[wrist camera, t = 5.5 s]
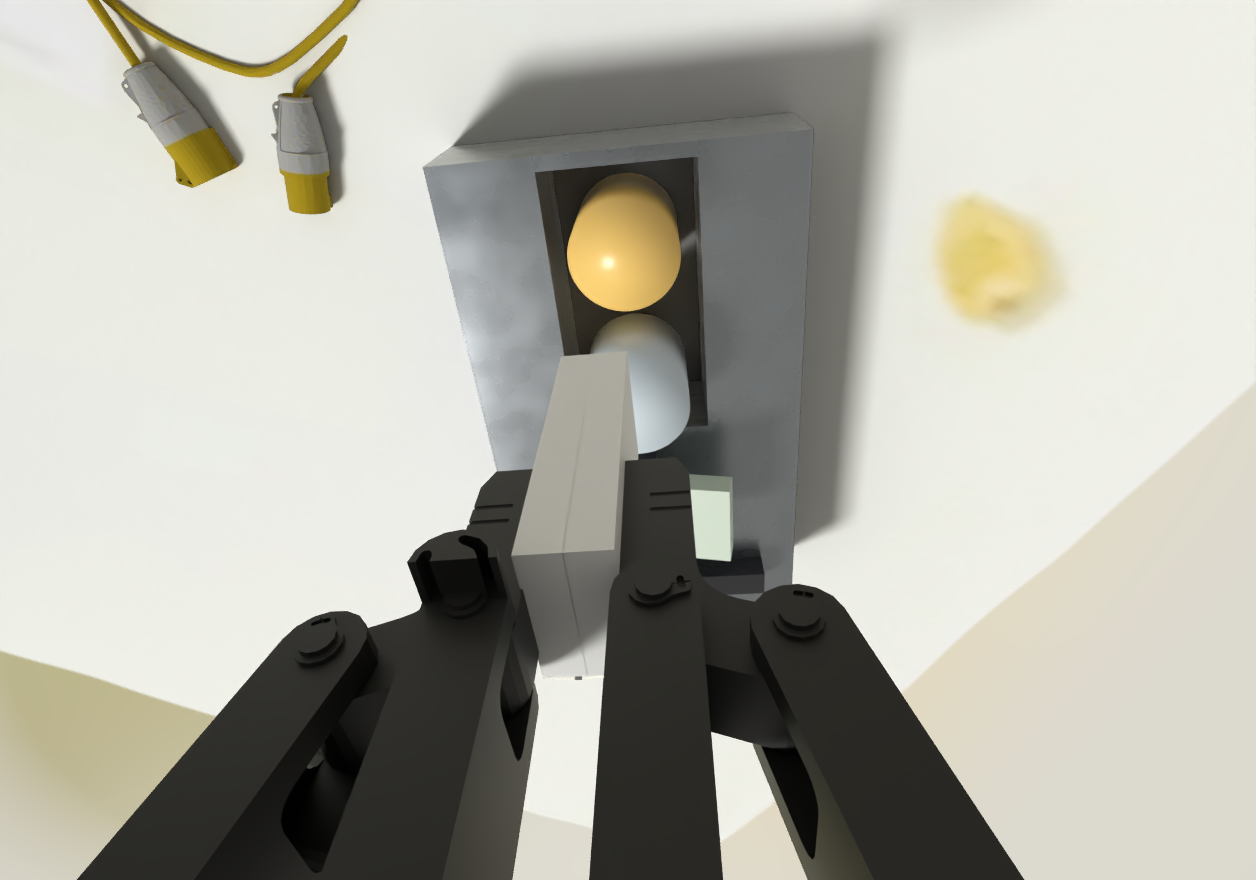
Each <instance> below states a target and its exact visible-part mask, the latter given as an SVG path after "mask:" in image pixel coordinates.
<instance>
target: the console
mask: <svg viewBox="0 0 1256 880" xmlns="http://www.w3.org/2000/svg"><path fill="white" fill-rule="evenodd" d="M813 136H814V129H813V128H812V127H811V126H809V125H808V124H807V123H805V122H804V121H803V120H801V119H800V118H799V117H798V116H796V115H795V114H794V113H792V112H790V113H780V114H770V115H760V116H750V117H740V118H730V119H720V120H710V121H700V122H690V123H680V124H670V125H660V126H650V127H640V128H630V129H620V130H610V131H600V132H590V133H580V134H570V135H560V136H550V137H540V138H530V139H520V140H510V141H500V142H490V143H480V144H470V145H460V146H452V147H450V148H449V149H447V150H446V151H445V152H443V153H442V154H440V155H439V156H438V157H436V158H435V159H434V160H432V161H431V162H429V163H428V164H427V165H425V166H424V167H423V170H424V174H425V178H426V182H427V187H428V191H429V195H430V199H431V203H432V207H433V211H434V215H435V219H436V223H437V227H438V232H439V236H440V240H441V244H442V248H443V252H444V256H445V260H446V264H447V268H448V272H449V277H450V281H451V285H452V289H453V293H454V297H455V301H456V305H457V309H458V313H459V318H460V322H461V326H462V330H463V334H464V338H465V342H466V346H467V350H468V354H469V358H470V363H471V367H472V371H473V375H474V379H475V383H476V387H477V391H478V395H479V399H480V403H481V408H482V412H483V416H484V420H485V424H486V428H487V432H488V436H489V440H490V444H491V448H492V453H493V457H494V461H495V465H496V469H497V471H510V470H525V469H533V466H534V462H535V458H536V454H537V450H538V446H539V442H540V438H541V434H542V430H543V426H544V422H545V418H546V414H547V410H548V406H549V402H550V398H551V394H552V390H553V386H554V382H555V378H556V374H557V370H558V366H559V362H560V358H561V357H562V356H574V355H580V354H579V348H578V341H577V334H576V327H575V320H574V314H573V307H572V300H571V293H570V286H569V280H568V273H567V266H566V259H565V252H564V246H563V239H562V232H561V225H560V219H559V212H558V205H557V198H556V191H555V185H554V178H553V170H564V169H574V168H585V167H595V166H605V165H616V164H626V163H637V162H647V161H658V160H668V159H678V158H689V157H693V175H694V200H695V224H696V248H697V272H698V297H699V321H700V345H701V370H702V381H690V382H688V388H689V398H690V414H689V419H688V422H687V424H686V426H685V428H684V430H683V431H682V433H681V434H680V435H679V436H678V437H677V438H676V439H675V440H674V441H673V442H672V443H670V444H668V445H667V446H665V447H663V448H661V449H659V450H656V451H653V452H649V453H642V454H638V460H642V459H657V458H671V457H677V458H678V459H679V460H680V462H681V463H682V464H683V465H684V467H685V468H686V469H687V470H688V471H689V474H693V475H709V476H725V477H732V487H733V551H732V557H731V561H721V560H711V559H700V558H696V560H697V566H698V570H699V572H700V574H701V576H702V577H703V579H704V580H705V581H706V582H707V583H708V584H709V585H710V586H712V587H713V588H714V589H716V590H718V591H720V592H722V593H723V594H726V595H729V596H732V597H736V598H740V599H744V600H749V601H754V602H755V601H756V600H757V599H758V598H759V597H760V596H761V595H762V594H763V593H764V592H766V591H768V590H770V589H773V588H775V587H778V586H780V585H792V572H793V552H794V531H795V510H796V489H797V469H798V448H799V427H800V406H801V385H802V365H803V344H804V323H805V302H806V281H807V261H808V240H809V219H810V198H811V178H812V157H813Z"/></svg>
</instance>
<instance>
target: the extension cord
mask: <svg viewBox="0 0 1256 880" xmlns="http://www.w3.org/2000/svg"><path fill="white" fill-rule="evenodd" d="M87 1H88V3H89V4H90V6H91V7H92V9H93V10H94V12H95V13H96V14H97V16H98V17H99V19H100V20H101V22H102V23H103V25H104V26H105V28H106V29H107V31H108V32H109V34H110V35H111V37H112V38H113V39H114V41H115V42H116V44H117V45H118V47H119V48H120V50H121V51H122V53H123V54H124V56H125V57H126V59H127V60H128V62H129V63H130V64H131V66H132V68H130V69H128V70H126V71H125V72H124V74H123V76H124V77H125V78H126V79H125V80H124V81H123V82H122V84H121V85H122V88H123V89H124V91H125V92H126V93H127V95H128V96H129V97H130V98H131V99H132V100H133V101H134V102H135V103H136V104H137V105H138V106H139V108H140V110H141V112H142V114H139V115H138V116H137V117H138V118H140V119H142V120H144V121H146V122H147V123H148V125H149V126H150V128H151V130H152V131H153V132H154V134H155V135H156V136H157V138H158V139H159V141H160V142H161V143H162V145H163V146H164V148H165V149H166V150H167V152H168V153H169V154H170V156H171V157H172V158H173V160H174V161H175V169H176V181H177V182H178V183H179V184H182V185H185V186H188V187H191V188H193V187H196V186H198V185H200V184H203V183H205V182H207V181H209V180H211V179H213V178H215V177H218V176H220V175H222V174H224V173H226V172H228V171H230V170H233V169H235V168H237V167H238V165H237V164H236V162H235V160H234V159H233V157H232V156H231V154H230V153H229V151H228V150H227V148H226V147H225V145H224V144H223V142H222V141H221V139H220V138H219V136H218V135H217V133H216V132H215V130H214V129H213V127H211V128H209V127H208V126H207V124H206V123H205V121H204V120H203V118H202V117H201V115H200V114H199V112H198V111H197V109H195V108H194V107H193V106H192V104H191V103H190V102H189V100H188V99H187V98H186V97H185V96H184V95H183V93H182V92H180V91H179V89H178V88H177V87H176V86H175V85H174V84H173V83H172V81H171V80H170V79H169V78H168V77H167V76H166V75H165V74H164V73H163V72H162V71H161V70H160V69H159V68H158V67H157V66H156V63H155V62H152V61H149V62H145V63H142V64H141V62H140V61H139V59H138V58H137V56H136V55H135V53H134V52H133V50H132V49H131V47H130V46H129V44H128V43H127V41H126V40H125V38H124V37H123V35H122V34H121V32H120V31H119V29H118V28H117V26H116V25H115V23H114V22H113V21H112V19H111V18H110V16H109V15H108V13H107V12H106V10H105V9H104V7H103V6H102V4H101V3H100V1H99V0H87ZM103 1H104V2H105V3H106V4H107V5H108V6H110V7H111V8H112V9H113V10H114V11H115V12H117V13H118V14H119V15H121V16H122V17H124V18H125V19H126V20H128V21H129V22H131V23H132V24H133V25H135V26H136V27H138V28H139V29H140V30H142V31H144V32H145V33H147V34H149V35H151V36H152V37H154V38H156V39H157V40H159V41H161V42H162V43H164V44H166V45H168V46H170V47H172V48H174V49H176V50H178V51H180V52H182V53H184V54H187V55H189V56H191V57H193V58H195V59H197V60H200V61H202V62H205V63H207V64H210V65H212V66H215V67H217V68H220V69H222V70H225V71H229V72H232V73H235V74H239V75H242V76H247V77H266V76H271V75H274V74H276V73H279V72H281V71H282V70H284V69H286V68H287V67H289V66H291V65H292V64H294V63H295V62H297V61H298V60H299V59H300V58H301V57H302V56H304V55H305V54H306V53H307V52H308V51H309V50H311V49H312V48H313V47H314V46H315V45H316V44H318V43H319V42H320V41H321V40H322V39H323V38H324V37H325V36H326V35H327V34H328V33H329V32H331V31H332V30H333V29H334V28H335V27H336V26H337V25H338V24H339V23H340V22H341V21H342V20H343V19H344V18H345V17H346V16H347V15H348V14H350V12H351V11H352V9H353V8H354V6H355V5H356V3H357V2H358V0H344V2H343V3H342V4H341V5H340V6H339V7H338V8H337V9H336V10H335V11H334V12H333V13H332V14H331V15H330V16H329V17H328V18H327V19H326V20H325V21H324V22H323V23H322V24H321V25H320V26H319V27H318V28H317V29H316V30H315V31H314V32H313V33H312V34H310V35H309V36H308V37H307V38H306V39H305V40H304V41H302V42H301V43H300V44H299V45H298V46H297V47H295V48H294V49H293V50H292V51H291V52H290V53H289V54H287V55H285V56H284V57H282V58H281V59H279V60H277V61H276V62H274V63H272V64H269V65H266V66H261V67H245V66H242V65H238V64H235V63H231V62H228V61H225V60H222V59H220V58H217V57H215V56H212V55H210V54H207V53H205V52H202V51H199V50H197V49H195V48H193V47H191V46H189V45H186V44H184V43H182V42H180V41H178V40H175V39H173V38H171V37H169V36H168V35H166V34H164V33H163V32H161V31H159V30H158V29H156V28H154V27H152V26H151V25H149V24H147V23H146V22H144V21H143V20H142V19H140V18H139V17H137V16H136V15H135V14H133V13H132V12H131V11H129V10H128V9H126V8H125V7H124V6H122V5H121V4H120V3H119V2H118V1H116V0H103ZM346 41H347V35H343V36H342V37H340V38H339V39H338V40H337V41H336V42H335V43H334V45H332V46H331V47H330V48H329V49H328V50H327V51H326V53H325V54H324V55H323V56H322V57H321V58H320V59H319V60H318V61H317V62H316V63H315V64H314V65H313V66H312V67H311V68H310V69H309V70H308V71H307V72H306V73H305V74H304V75H303V76H302V77H301V79H300V81H299V82H298V84H297V85H296V87H295V88H294V91H293V93H282V94H279V95H278V99H279V101H277V102H274V104H273V105H272V107H273V113H274V117H275V121H276V125H277V129H276V134H271V136H272V137H273V138H274V139H275V141H276V142H277V155H278V161H279V168H280V173H281V174H282V175H284V178H285V184H286V191H287V198H288V204H289V209H290V210H291V211H293V212H296V213H301V214H321V213H326V212H328V211H330V207H332V199H331V195H329V191H328V183H327V177H328V176H329V175H330V168H329V160H328V151H327V149H326V145H325V141H324V137H323V133H322V130H321V127H320V123H319V120H318V117H317V114H316V111H315V108H314V105H313V103H312V102H313V98H312V97H311V96H308V95H304V92H305V91H306V90H307V88H308V87H309V86H310V85H311V83H312V82H313V81H314V80H315V79H316V78H317V77H318V76H319V75H320V74H321V73H322V72H323V71H324V69H325V68H326V67H327V66H328V65H329V64H330V63H331V62H332V61H333V60H334V59H335V58H336V57H337V56H338V55H339V54H340V52H341V51H342V49H343V47H344V45H345V43H346ZM124 84H127V85H128V86H129V87H128V88H125V87H124ZM275 105H277V106H278V108H277V109H275V107H274V106H275Z"/></svg>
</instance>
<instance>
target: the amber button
mask: <svg viewBox="0 0 1256 880" xmlns="http://www.w3.org/2000/svg"><path fill="white" fill-rule="evenodd" d="M567 259H568V266H569V270H570V273H571V276H572V278H573V280H574V282H575V284H576V285H577V287H578V288H579V289H580V291H581V292H582V293H583V294H584V295H585V296H586V297H587V298H589V299H590V300H591V301H593V302H594V303H596V304H598V305H600V306H602V307H605V308H607V309H611V310H616V311H633V310H638V309H642V308H645V307H647V306H650V305H652V304H653V303H655V302H657V301H658V300H659V299H661V298H662V297H663V296H664V295H665V294H666V293H667V292H668V290H669V289H670V288H671V287H672V285H673V283H674V282H675V279H676V277H677V275H678V272H679V268H680V262H681V250H680V241H679V233H678V225H677V217H676V211H675V207H674V205H673V202H672V200H671V199H670V197H669V195H668V194H667V192H666V191H665V190H664V189H663V188H662V187H661V186H660V185H659V184H658V183H656V182H655V181H654V180H652V179H650V178H648V177H646V176H643V175H640V174H636V173H618V174H614V175H611V176H608V177H606V178H604V179H602V180H601V181H599V182H598V183H596V184H595V185H594V186H593V187H592V188H591V189H590V190H589V192H588V193H587V194H586V196H585V197H584V200H583V202H582V204H581V207H580V210H579V212H578V215H577V218H576V221H575V224H574V227H573V230H572V233H571V236H570V239H569V243H568V249H567Z"/></svg>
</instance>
